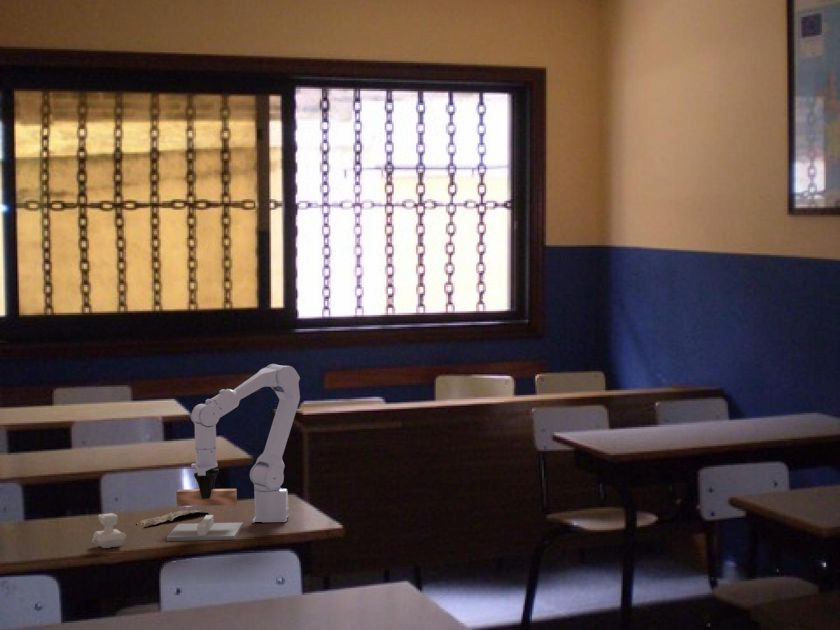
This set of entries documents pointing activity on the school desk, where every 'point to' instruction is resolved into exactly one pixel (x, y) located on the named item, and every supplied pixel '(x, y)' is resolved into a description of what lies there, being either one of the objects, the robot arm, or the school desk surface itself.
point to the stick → (216, 499)
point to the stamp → (108, 532)
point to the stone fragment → (167, 517)
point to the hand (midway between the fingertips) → (207, 497)
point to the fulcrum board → (211, 535)
